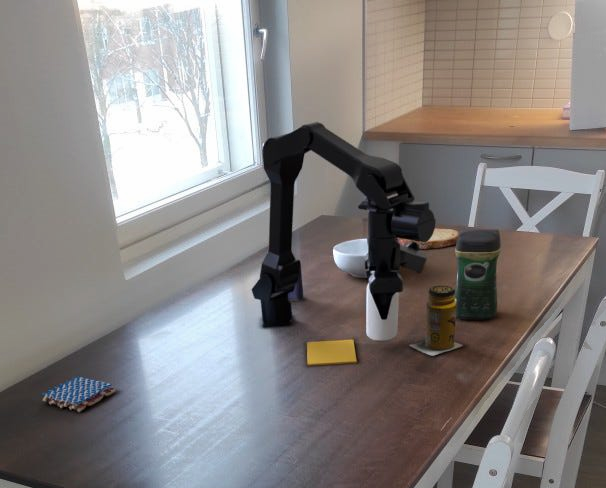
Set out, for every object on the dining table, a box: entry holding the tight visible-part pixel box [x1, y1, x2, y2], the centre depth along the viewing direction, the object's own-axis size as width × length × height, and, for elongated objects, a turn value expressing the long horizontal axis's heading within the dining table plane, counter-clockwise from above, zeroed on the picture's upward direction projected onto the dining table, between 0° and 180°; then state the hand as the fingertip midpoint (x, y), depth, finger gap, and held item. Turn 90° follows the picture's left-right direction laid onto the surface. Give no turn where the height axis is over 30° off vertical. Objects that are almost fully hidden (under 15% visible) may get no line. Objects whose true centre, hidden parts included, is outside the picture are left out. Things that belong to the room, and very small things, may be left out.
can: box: [365, 282, 400, 343], centre depth 164 cm, size 6×6×12 cm
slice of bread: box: [397, 227, 460, 250], centre depth 231 cm, size 18×18×4 cm
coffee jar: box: [455, 228, 502, 321], centre depth 177 cm, size 10×8×19 cm
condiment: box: [409, 284, 464, 357], centre depth 165 cm, size 7×8×12 cm
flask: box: [288, 263, 304, 302], centre depth 197 cm, size 9×3×11 cm, turn 71°
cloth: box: [306, 339, 358, 367], centre depth 169 cm, size 10×12×1 cm
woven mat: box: [41, 376, 116, 413], centre depth 158 cm, size 10×11×2 cm
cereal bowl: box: [332, 238, 369, 279], centre depth 210 cm, size 17×17×7 cm
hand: (382, 313), depth 164 cm, fingers closed on can, 6 cm apart
